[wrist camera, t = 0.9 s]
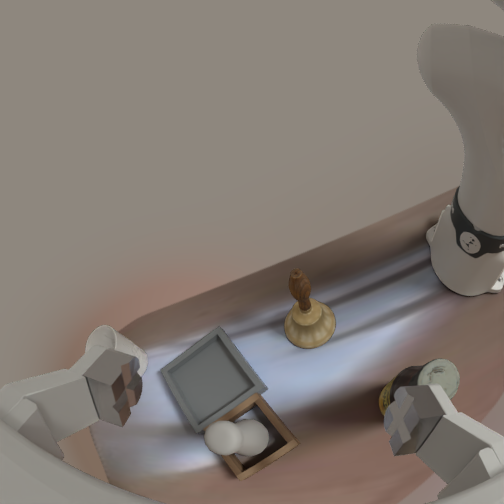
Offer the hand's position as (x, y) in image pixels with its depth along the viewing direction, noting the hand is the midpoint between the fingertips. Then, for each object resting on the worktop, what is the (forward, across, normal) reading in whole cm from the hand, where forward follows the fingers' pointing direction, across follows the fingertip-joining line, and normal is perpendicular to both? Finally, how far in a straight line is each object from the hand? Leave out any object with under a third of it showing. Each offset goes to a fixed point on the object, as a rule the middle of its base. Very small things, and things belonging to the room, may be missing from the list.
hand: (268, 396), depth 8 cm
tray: (+29, +7, +26) cm, 39 cm away
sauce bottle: (+21, -21, +21) cm, 36 cm away
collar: (+21, -1, +29) cm, 36 cm away
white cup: (+33, +23, +30) cm, 50 cm away
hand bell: (+34, -7, +16) cm, 38 cm away
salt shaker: (+21, -1, +29) cm, 36 cm away
